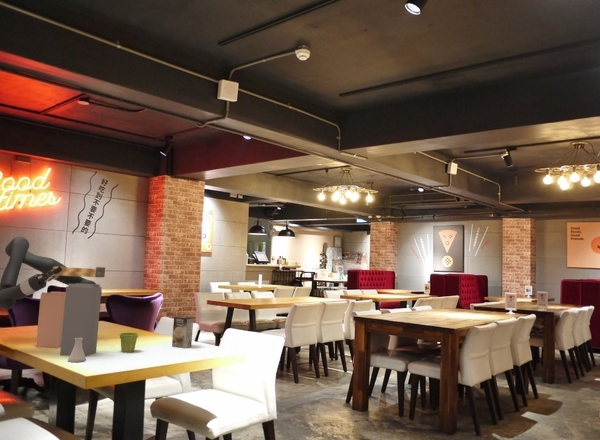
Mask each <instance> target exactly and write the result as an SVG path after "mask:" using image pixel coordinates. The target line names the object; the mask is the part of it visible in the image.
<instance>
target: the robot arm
mask: <svg viewBox="0 0 600 440" xmlns="http://www.w3.org/2000/svg"><path fill="white" fill-rule="evenodd" d="M29 248H30V243H29V240H28V239H27V238H25V237H23V236H16V237H14V238H13V239H11V240H10V242H9V243H8V244H7V245H6V246H5V248H4V252H5V254H6V255H7V256H8V257H9V259H8V261H7V264H6V266H5V268H4V270H3V273H2V276H1V278H0V279H1V280H0V308H2V309H3V310H10V309H12V308H13V307H14V306H15V305H16V302H17V300H22V299H24V298H26V297H28V296H30V295H32V294H35V293H36V292H38V291H40V290H42V289H44V288H46V286H47V282H51V281H52V280H53V281H57V282H59V283H61V284H64V285H66V286H68V284H75V283H81V284H97V283H96V282H95V281H94V280H92V279H91V280H89V279H88V278H87V279H86V277H81V276H61V275H55V274H57V273H59V272H61V271H62V268H61V267H67V266H66V265H65V264H63V263H61V262H60V261H57V260H56V259H54V258H51V257H46V256H40V255H37V254H34V253H31V252H30V251H29ZM23 264H25V265H26V266H29V267H31V268H33V269H34V270H36V271H39V272H40V273H36V274H34V275H33V276H30V277H28V278H26V279H24V280H23V281H22V282H20V283H19V284H17V283H18V279H19V275H20V271H21V268H22V265H23ZM53 267H58V268H56V269H54V270H53Z"/></svg>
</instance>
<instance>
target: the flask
mask: <svg viewBox="0 0 600 440" xmlns="http://www.w3.org/2000/svg"><path fill="white" fill-rule="evenodd" d="M82 339H83V338H75V345H74V348H73V350H72V353H71V355H70V356H69V357H68V359H67V362H70V363H81V362H85V361H86V360H87V359H86V356H85V355H84V351H83V348H82Z"/></svg>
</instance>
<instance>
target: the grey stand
mask: <svg viewBox="0 0 600 440" xmlns="http://www.w3.org/2000/svg"><path fill="white" fill-rule="evenodd" d="M65 292H66V294H65V305H64V316H63V328H62V339H61V347H60V353H59V356H69V357H70V355H71V353H72V350H73V348H74V345H75V338H83V339H82V348H83V351H84V355H85V357H87V356H89V355H90V356H91V355H93V354H96V353H97V348H98V346H97V345H98V332H99V322H100V321H99V320H100V308H101V298H102V286H101V284H99V283H96V284H81V283H75V284H68V285H66V286H65Z"/></svg>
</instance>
